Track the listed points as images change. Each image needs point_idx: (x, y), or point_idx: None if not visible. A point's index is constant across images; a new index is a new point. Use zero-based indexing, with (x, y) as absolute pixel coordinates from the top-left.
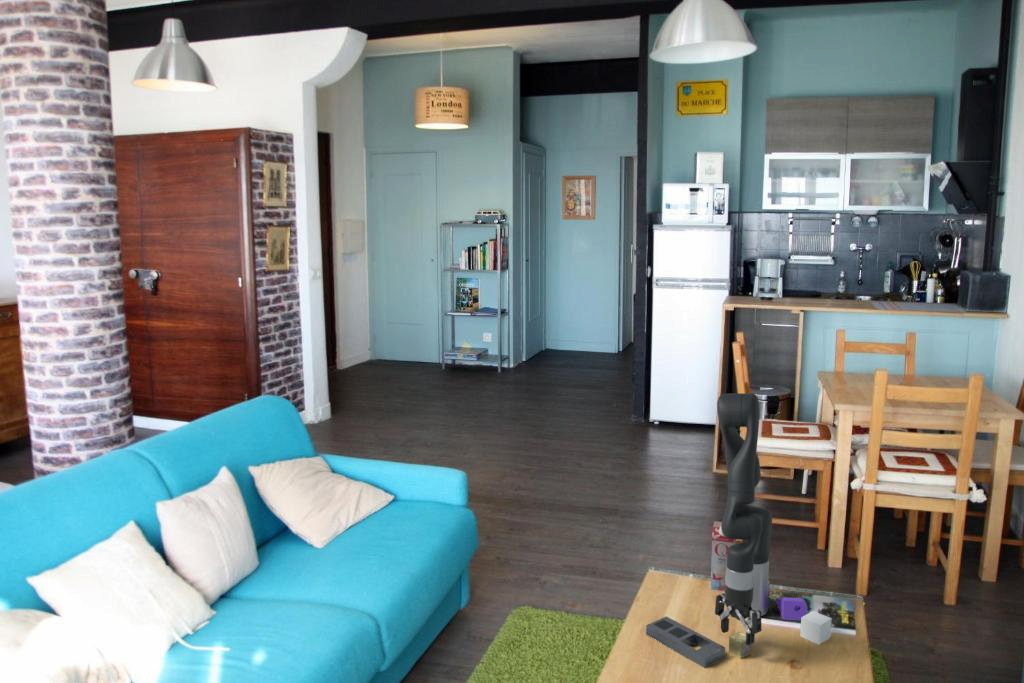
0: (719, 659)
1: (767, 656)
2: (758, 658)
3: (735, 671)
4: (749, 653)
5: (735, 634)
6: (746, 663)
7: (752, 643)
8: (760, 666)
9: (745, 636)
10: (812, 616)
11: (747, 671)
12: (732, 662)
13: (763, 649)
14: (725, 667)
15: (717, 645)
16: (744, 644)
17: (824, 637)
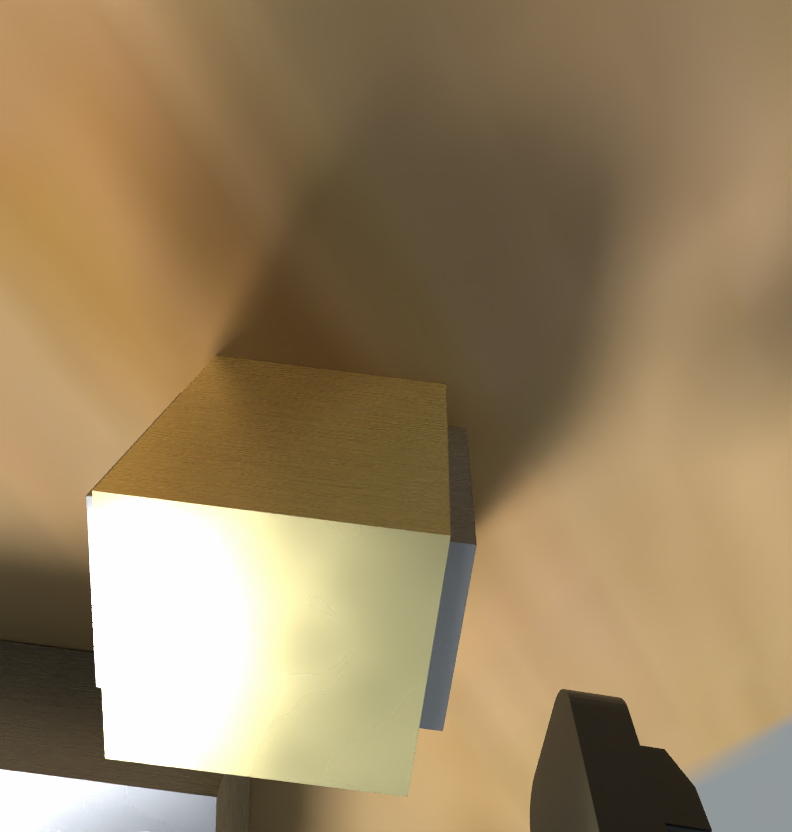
0: None
1: (714, 251)
2: (617, 405)
3: (523, 819)
4: (445, 392)
5: (134, 634)
6: (540, 618)
7: (615, 701)
8: (732, 563)
9: (340, 565)
10: None
11: None
12: None
13: (556, 83)
14: (391, 820)
15: (100, 820)
16: (447, 692)
17: None
